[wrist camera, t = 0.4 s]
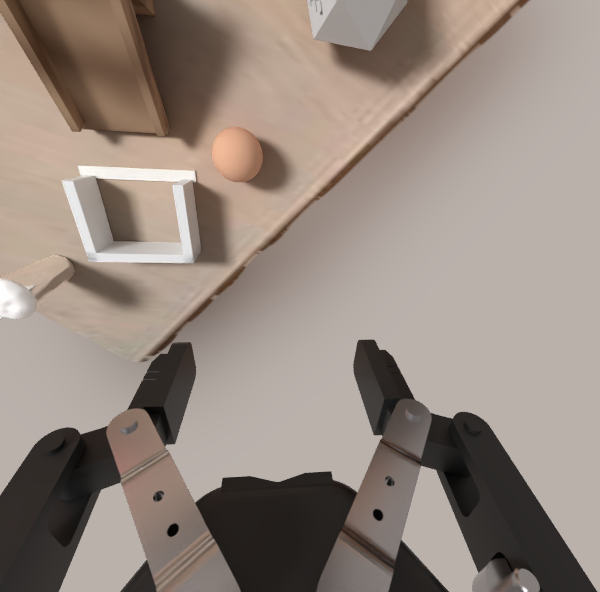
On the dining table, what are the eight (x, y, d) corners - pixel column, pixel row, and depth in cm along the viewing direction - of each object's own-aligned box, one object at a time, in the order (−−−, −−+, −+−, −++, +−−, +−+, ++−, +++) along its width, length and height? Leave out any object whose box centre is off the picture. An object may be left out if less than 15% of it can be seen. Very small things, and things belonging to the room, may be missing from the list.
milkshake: (31, 273, 36) (-45, 318, 27) (47, 241, 34) (-29, 279, 25) (69, 293, 38) (9, 341, 29) (87, 264, 36) (28, 306, 27)
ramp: (39, -39, 23) (-75, -123, 15) (149, -28, 24) (91, -101, 16) (86, 131, 29) (20, 131, 21) (173, 136, 30) (138, 137, 22)
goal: (85, 174, 31) (61, 180, 27) (192, 179, 32) (182, 185, 28) (107, 248, 35) (89, 261, 32) (201, 250, 36) (193, 263, 33)
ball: (214, 125, 30) (204, 124, 25) (263, 128, 30) (261, 128, 26) (218, 177, 32) (210, 184, 28) (263, 179, 33) (262, 187, 28)
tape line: (78, 165, 30) (77, 165, 30) (195, 170, 32) (194, 170, 31) (82, 177, 31) (81, 177, 31) (196, 182, 32) (196, 182, 32)
